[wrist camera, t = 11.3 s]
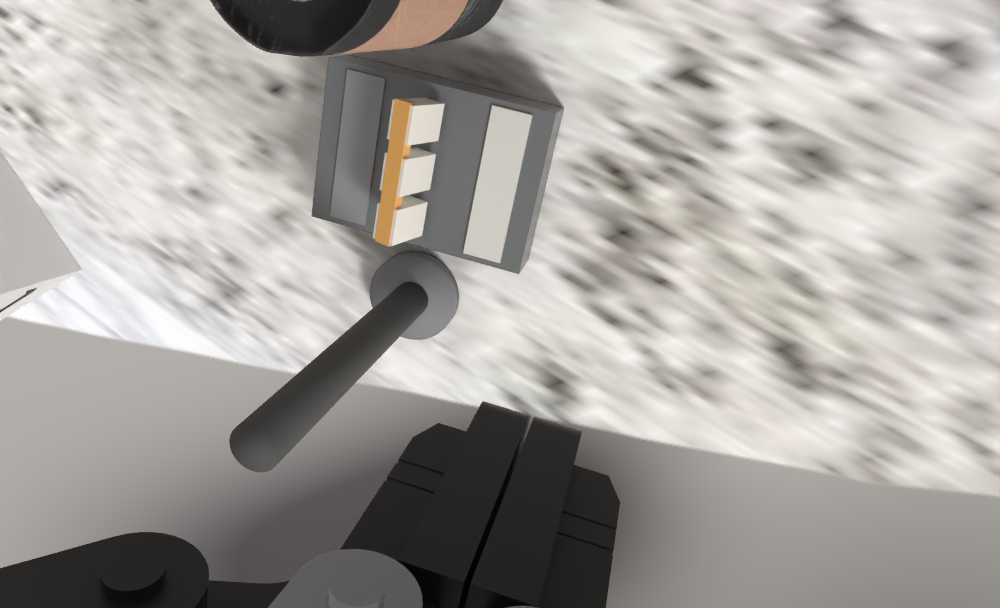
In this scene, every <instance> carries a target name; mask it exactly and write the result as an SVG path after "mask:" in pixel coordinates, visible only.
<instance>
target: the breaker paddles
mask: <svg viewBox="0 0 1000 608" xmlns="http://www.w3.org/2000/svg"><path fill="white" fill-rule="evenodd" d="M444 105H445V104H444V103H441V102H438V101H435V100H431V99H428V98H425V97H424V98H408V99H404V98H397V99H393V101H392V108H391V115H390V122H389V129H388V136H387V139H389V146H388V152H387V153H385V156H384V163H383V170H382V177H381V184H380V190H381V191H382V194H381V201H380V203H378V205H377V212H376V219H375V226H374V233H373V239H375V242H378V243H380V244H383V245H385V246H388V247H389V246H394V245H396V244H399V243H402V242H405V241H408V240H411V239H414V238H417V237H420V236H422V233H423V227H424V221H425V215H426V210H427V204H428V202H426V201H423V200H421V199H418V198H415V197H412V196H410V194H414V193H418V192H422V191H426V190H430V186H431V180H432V175H433V169H434V163H435V157H436V154H434V153H431V152H428V151H425V150H422V149H419V148H411V149H410V147H411V145H415V144H422V143H428V142H435V141H438V140H439V134H440V128H441V122H442V116H443V111H444ZM407 195H408V196H407ZM403 196H404V197H403Z"/></svg>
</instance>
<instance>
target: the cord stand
mask: <svg viewBox="0 0 1000 608" xmlns="http://www.w3.org/2000/svg"><path fill="white" fill-rule="evenodd" d="M370 299H371V304H372V307H373V309H372V310H371V311H369V312H368V313H367V314H366V315H365V316H364V317H362V318H361V319H360V320H359V321H358V322H357V323H356V324H354V325H353V326H352V327H351V328H350V329H349V330H348V331H346V332H345V333H344V334H343V335H342V336H341V337H339V338H338V339H337V340H336V341H335V342H334V343H333V344H331V345H330V346H329V347H328V348H327V349H326V350H324V351H323V352H322V353H321V354H320V355H319V356H318V357H316V358H315V359H314V360H313V361H312V362H311V363H310V364H308V365H307V366H306V367H305V368H304V369H303V370H301V371H300V372H299V373H298V374H297V375H296V376H295V377H293V378H292V379H291V380H290V381H289V382H288V383H287V384H285V385H284V386H283V387H282V388H281V389H280V390H278V391H277V392H276V393H275V394H274V395H273V396H272V397H270V398H269V399H268V400H267V401H266V402H265V403H263V405H261V406H260V407H259V408H258V409H257V410H255V411H254V412H253V413H252V414H251V415H250V416H249V417H247V418H246V419H245V420H244V421H243V422H242V423H240V424H239V425H238V426H237V427H236V428H235V429H234V430H233V431H232V433H231V436H230V448H231V451H232V453H233V455H234V457H235V458H236V460H237V461H238V462H239V463H240V464H241V465H243V466H244V467H246V468H247V469H249V470H252V471H255V472H267V471H269V470H271V469H273V468H274V467H275V466H276V465H277V464H278V463H279V462H280V461H281V460H282V459H283V458H284V457H285V456H286V455H287V453H289V452H290V450H291V449H292V448H293V447H294V446H295V445H296V444H297V443H298V442H299V441H300V440H301V439H302V438H303V437H304V436H305V435H306V434H307V433H308V432H309V431H310V430H311V428H312V427H313V426H314V425H315V424H316V423H317V422H318V421H319V420H320V419H321V418H322V417H323V416H324V415H325V414H326V413H327V412H328V411H329V410H330V409H331V408H332V407H333V406H334V405H335V403H336V402H337V401H338V400H339V399H340V398H341V397H342V396H343V395H344V394H345V393H346V392H347V391H348V390H349V389H350V388H351V387H352V386H353V385H354V384H355V383H356V382H357V381H358V379H359V378H360V377H361V376H362V375H363V374H364V373H365V372H366V371H367V370H368V369H369V368H370V367H371V366H372V365H373V364H374V363H375V362H376V361H377V360H378V359H379V358H380V356H381V355H382V354H383V353H384V352H385V351H386V350H387V349H388V348H389V347H390V346H391V345H392V344H393V343H394V342H395V341H396V340H397V339H398V338H399V337H400V336H401V337H404V338H408V339H414V340H420V339H427V338H430V337H432V336H434V335H436V334H438V333H439V332H441V331H442V330H443V329H444V328H445V327H446V326H447V324H448V323H449V322H450V321H451V319H452V318H453V316H454V315H455V313H456V310H457V307H458V302H459V292H458V287H457V283H456V281H455V278H454V276H453V275H452V273H451V271H450V270H449V269H448V268H447V267H446V266H445V265H444V263H442V262H441V261H440V260H439V259H437V258H435V257H434V256H431V255H429V254H427V253H423V252H418V251H408V252H403V253H400V254H397V255H395V256H393V257H392V258H391V259H389V260H388V261H387V262H385V263H384V264H383V265H381V267H380V268H379V269H378V270H377V271H376V273H375V275H374V277H373V279H372V282H371V286H370Z"/></svg>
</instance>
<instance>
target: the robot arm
mask: <svg viewBox="0 0 1000 608" xmlns="http://www.w3.org/2000/svg"><path fill="white" fill-rule="evenodd" d="M529 421H530V415H527V414H523V413H520V412H517V411H513V410H510V409H507V408H504V407H500V406H497V405H494V404H490V403H487V402H484V401H483V402H482V403H481V405H480V407H479V409H478V411H477V413H476V414H475V416H474V419H473V420H472V422H471V424H470V426H469V428H468V430H467V431H466V432H465V431H462V430H459V429H456V428H453V427H449V426H446V425H443V424H440V423H438V424H436V425H434V426H432V427H431V428H429V429H427V430H425V431H424V432H422V433H420V434H418V435H416V436H414V437H413V438H412V440H411V441H410V443H409V444H408V446H407V447H406V449H405V451H404V452H403V454H402V455H401V457H400V458H399V461H398V463H396V464H395V466H394V468H393V469H392V471H391V472H390V473H389V475H388V477H387V480H386V482H384V483H383V484H382V486H381V487H380V489H379V490H378V492H377V494H376V495H375V497H374V498H373V500H372V501H371V503H370V504H369V506H368V507H367V509H366V511H365V512H364V514H363V515H362V517H361V518H360V520H359V522H358V523H357V524H356V526H355V527H354V529H353V530H352V532H351V534H350V535H349V537H348V538H347V540H346V541H345V543H344V544H343V546H342V547H341V549H340V550H338V551H332V552H329V553H326V554H323V555H320V556H318V557H317V558H314V559H312V560H311V561H310V562H308V563H307V564H305V565H304V566H303V567H302V568H301V569H300V570H299V571H298V572H297V573H296V574H295V576H294V577H293V578H292V579H291V580H290V581H287V582H280V583H271V584H258V583H241V582H226V581H210V580H209V571H208V565H207V563H206V560H205V558H204V557H203V556H202V554H201V552H200V551H199V550H198V549H197V548H195V547H194V546H193V545H192V544H190V543H189V542H187V541H185V540H183V539H181V538H178V537H175V536H172V535H167V534H163V533H154V532H139V533H130V534H124V535H120V536H115V537H111V538H108V539H104V540H100V541H97V542H93V543H90V544H86V545H82V546H79V547H75V548H72V549H68V550H65V551H61V552H58V553H54V554H50V555H47V556H43V557H40V558H36V559H32V560H29V561H25V562H21V563H18V564H14V565H11V566H7V567H3V568H0V608H606V601H607V594H608V586H609V579H610V572H611V564H612V557H613V556H612V553H613V550H614V542H615V535H616V533H615V532H616V528H617V520H618V513H619V506H620V501H619V499H618V496H617V494H616V492H615V490H614V487H613V485H612V483H611V480H610V478H609V476H607V475H604V474H601V473H598V472H595V471H592V470H588V469H585V468H582V467H579V466H576V465H574V461H575V457H576V453H577V449H578V445H579V441H580V437H581V433H582V431H580V430H576V429H573V428H570V427H567V426H563V425H560V424H557V423H553V422H550V421H547V420H544V419H540V418H537V417H534V418H533V421H532V424H531V426H530V429H529V432H528V434H527V430H528V425H529ZM526 434H527V437H526ZM525 438H526V439H525Z"/></svg>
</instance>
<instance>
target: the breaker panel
mask: <svg viewBox="0 0 1000 608" xmlns="http://www.w3.org/2000/svg"><path fill="white" fill-rule="evenodd" d="M424 97H425V98H428V99H431V100H435V101H438V102H441V103H444V104H445V105H444V111H443V116H442V122H441V128H440V134H439V140H438V141H435V142H428V143H422V144H415V145H411V147H410V149H411V148H419V149H422V150H425V151H428V152H431V153H434V154H436V157H435V163H434V169H433V175H432V180H431V186H430V190H426V191H422V192H418V193H414V194H410V196H412V197H415V198H418V199H421V200H423V201H426V202H428V204H427V210H426V215H425V221H424V227H423V233H422V236H420V237H417V238H414V239H411V240H408V241H405V242H406V243H409V244H413V245H417V246H420V247H424V248H427V249H431V250H435V251H438V252H442V253H445V254H449V255H452V256H456V257H460V258H463V259H467V260H470V261H474V262H478V263H481V264H485V265H488V266H492V267H496V268H499V269H503V270H506V271H510V272H513V273H517V274H519V273H520V272H521V270H522V269H523V267H524V266H525V264H526V262H527V261H528V259H529V254H530V250H531V246H532V242H533V237H534V233H535V229H536V225H537V220H538V216H539V212H540V207H541V203H542V199H543V195H544V190H545V186H546V182H547V178H548V173H549V169H550V165H551V161H552V156H553V152H554V148H555V144H556V139H557V135H558V131H559V127H560V122H561V118H562V114H563V109H564V108H563V107H559V106H555V105H551V104H547V103H543V102H539V101H535V100H531V99H527V98H523V97H519V96H515V95H511V94H506V93H502V92H498V91H494V90H490V89H486V88H482V87H478V86H474V85H470V84H466V83H462V82H458V81H454V80H450V79H446V78H441V77H437V76H433V75H429V74H425V73H421V72H417V71H413V70H409V69H405V68H401V67H397V66H393V65H389V64H385V63H381V62H376V61H372V60H368V59H364V58H360V57H356V56H352V55H344V56H335V57H329V60H328V69H327V78H326V88H325V97H324V106H323V115H322V125H321V134H320V143H319V152H318V161H317V171H316V180H315V189H314V198H313V208H312V216H313V217H316V218H320V219H323V220H327V221H331V222H334V223H338V224H341V225H345V226H348V227H352V228H356V229H359V230H363V231H366V232H370V233H374V226H375V219H376V212H377V205H378V203H380V201H381V194H382V191H381V190H380V184H381V177H382V170H383V163H384V156H385V153H387V152H388V146H389V139H387V136H388V129H389V122H390V115H391V108H392V101H393V99H397V98H404V99H408V98H424ZM407 196H408V195H407ZM403 197H404V196H403Z"/></svg>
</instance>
